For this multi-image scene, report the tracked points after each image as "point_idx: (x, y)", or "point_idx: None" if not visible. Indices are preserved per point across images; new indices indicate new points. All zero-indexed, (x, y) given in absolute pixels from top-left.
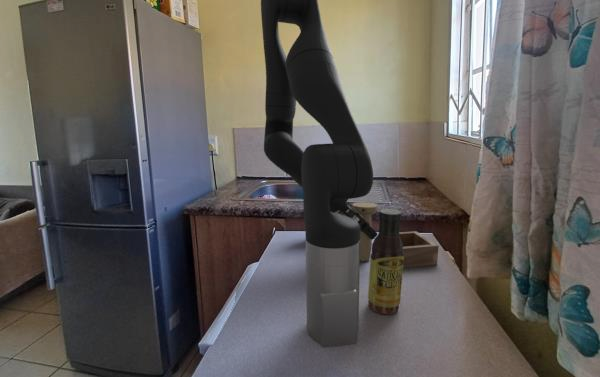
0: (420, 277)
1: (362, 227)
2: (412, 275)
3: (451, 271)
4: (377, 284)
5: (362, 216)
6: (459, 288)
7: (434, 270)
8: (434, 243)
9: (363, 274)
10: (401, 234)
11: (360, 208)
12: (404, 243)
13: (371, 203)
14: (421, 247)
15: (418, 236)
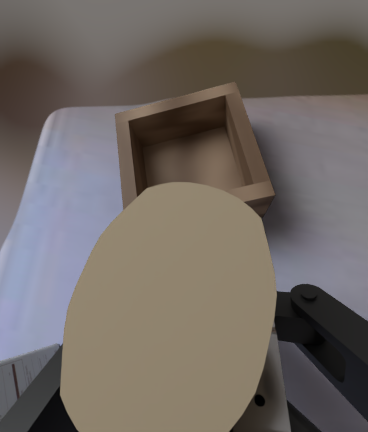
0: (312, 168)
1: (323, 337)
2: (303, 184)
3: (269, 103)
4: None
5: (276, 337)
6: (356, 107)
7: (267, 133)
8: (217, 87)
9: None
10: (133, 156)
11: (256, 370)
12: (141, 163)
13: (122, 226)
14: (249, 122)
15: (153, 115)
